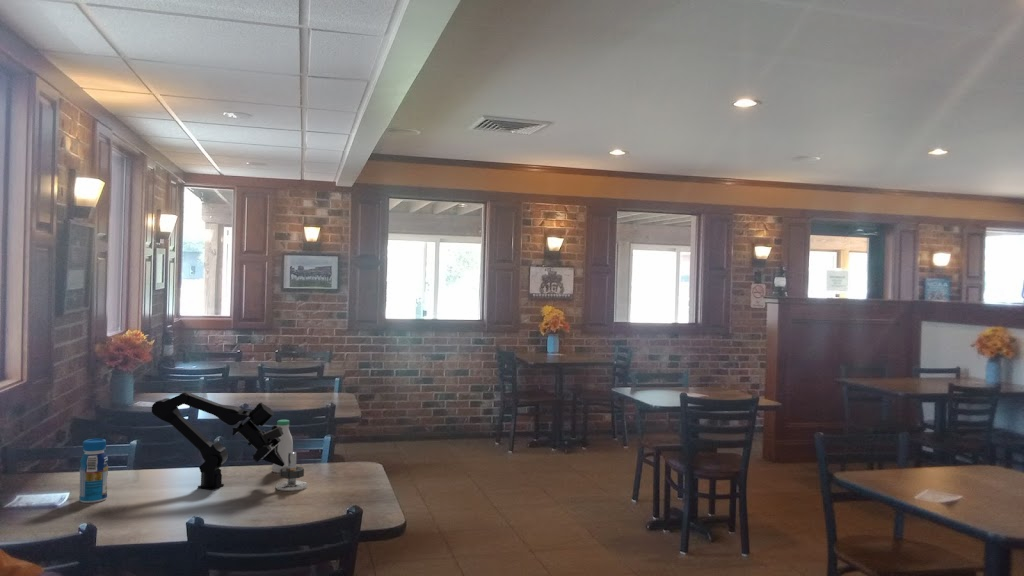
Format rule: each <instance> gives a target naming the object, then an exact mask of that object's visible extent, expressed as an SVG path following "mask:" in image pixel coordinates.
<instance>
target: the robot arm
mask: <svg viewBox="0 0 1024 576" xmlns="http://www.w3.org/2000/svg"><path fill="white" fill-rule="evenodd" d="M183 405H186V406H189V407H191V408H194V409H196V410H199V411H203V412H204V413H208V414H210V415H212V416H215V417H217V418H218V419H219V421H222V422H223V423H225V424H226V425H229V426H233V427H231V428H232V434H231V435H232V436H235V435H237V434H238V433H239V435H240V436H242V438H244V439H245V440H246V442H248V443H247V445H248V446H250V447H251V446H252V447H253V449H255V450H256V451H255V453H253V455H252V460H253V461H254V462H255V463H256V464H257V463H258V462H260V461H261V460H262V461H263V462H264V461H265V462H267V463H271V464H272V463H273V464H276V465H279V466H282V467H283V466H284V465H285V464H284V462H283V460H282V458H281V456H280V455H279V453H278V445H277V444H278V443H279V442H280V441H281V440H280V439H279V438H278V437H280V436H282V434H283V431H282V428H281V427H280V426H278V425H277V424H274V425H273V426H272V427H271V429H270V430H268V431H265V430H264V429H263V430H261V429H259V426H260V427H264V425H265V424H266V423H268V421H269V420H271V418H273V417H274V415H275V413H274V411H273V410H272V409H271V408H270V406H267V405H266V404H263V402H259V403H258V404H256V406H255V407H254V408H253V409H252V410H245V409H243V408H242V407H239V406H235V405H229V404H228V405H227V404H221V403H218V402H215V401H212V400H210V399H208V398H206V397H205V398H204V397H201V396H200V395H196V394H193V393H192V392H190V391H184V392H182V393H180V394H178V395H176V396H174V397H172V398H162V399H159V400H157V401H155V402H154V403H153V404H152V406H151V413H152V414H153V416H155V417H156V418H158V419H159V420H161V421H163V422H166V423H168V424H170V425H171V426H172V427H174V428H175V430H177V432H179V433H180V434H181V435H182V436H183V437H184V438H185V439H186V440H187V441H189V443H191V445H193V446H194V447H195V448H196V449H197V450H198V451H199V454H200V455H201V457H202V460H203V461H204V462H203V463H201V465H199V466H198V467H199V472H200V474H201V475H200V485H198V486H197V488H198V489H203V490H215V489H218V488H220V487H223V486H225V484H224V483H222V481H223V480H222V479H223V478H222V477H223V474H222V469H220V468H222V466H223V465H224V463H225V462H226V461H227V460H228V456H229V454H228V451H227V450H226V449H227V448H226V447H225V446H223V445H222V444H221V442H220V441H218V440H217V441H216V442H212V441H210V440H209V439H208V438H207V437H206V436H205V435H203V434H202V433H201V432H200V431H199V430H198V429H197V428H196V427H195V426H194V425H193V424H191V422H190V421H188V419H186V418H185V417H184V416H183V415H182V413H181V411H180V409H179V407H180V406H183ZM246 419H247V421H245V420H246ZM237 424H238V425H237ZM235 425H237V426H235ZM276 445H277V446H276ZM275 446H276V447H275Z"/></svg>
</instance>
